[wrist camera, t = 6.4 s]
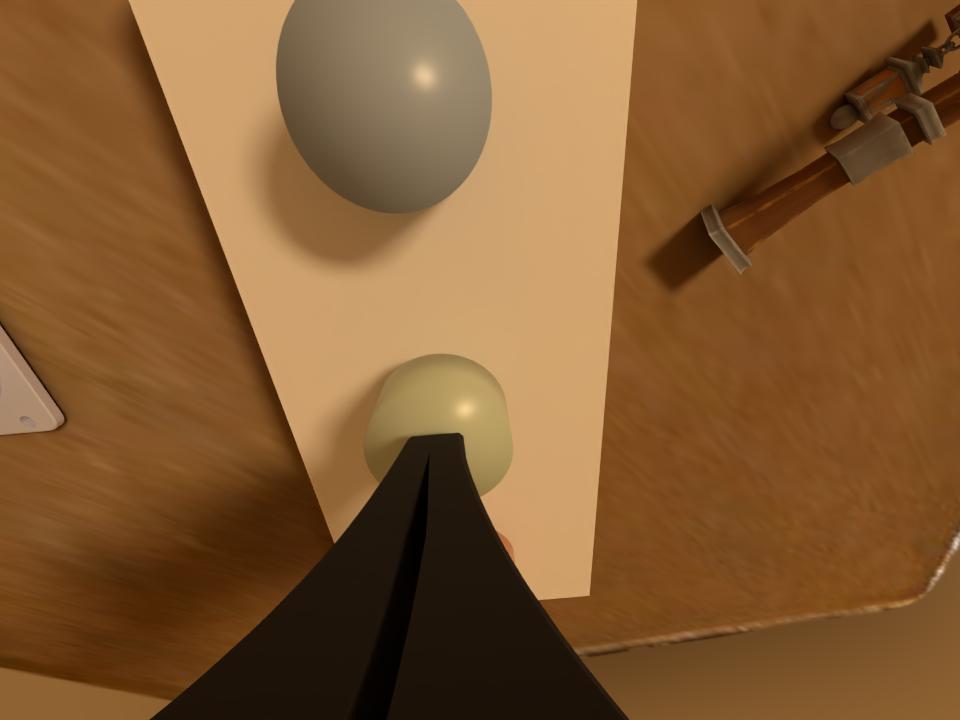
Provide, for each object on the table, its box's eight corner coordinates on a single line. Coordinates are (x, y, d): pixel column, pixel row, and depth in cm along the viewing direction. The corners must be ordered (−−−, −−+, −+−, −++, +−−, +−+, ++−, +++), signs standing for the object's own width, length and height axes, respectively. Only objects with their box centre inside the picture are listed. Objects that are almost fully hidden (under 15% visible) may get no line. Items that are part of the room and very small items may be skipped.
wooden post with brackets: (1037, 0, 10) (1236, 12, 7) (715, 215, 15) (742, 278, 12) (1016, -66, 9) (1223, -88, 6) (689, 181, 14) (710, 238, 11)
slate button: (338, 211, 10) (310, 222, 8) (291, 11, 8) (242, -33, 6) (492, 197, 10) (498, 205, 8) (480, -7, 8) (483, -55, 6)
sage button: (391, 464, 13) (379, 512, 11) (366, 359, 11) (346, 396, 9) (509, 454, 13) (516, 499, 11) (502, 347, 11) (509, 382, 9)
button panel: (370, 575, 20) (361, 614, 18) (162, -48, 9) (91, -98, 8) (578, 557, 20) (589, 595, 18) (613, -91, 9) (648, -152, 7)
